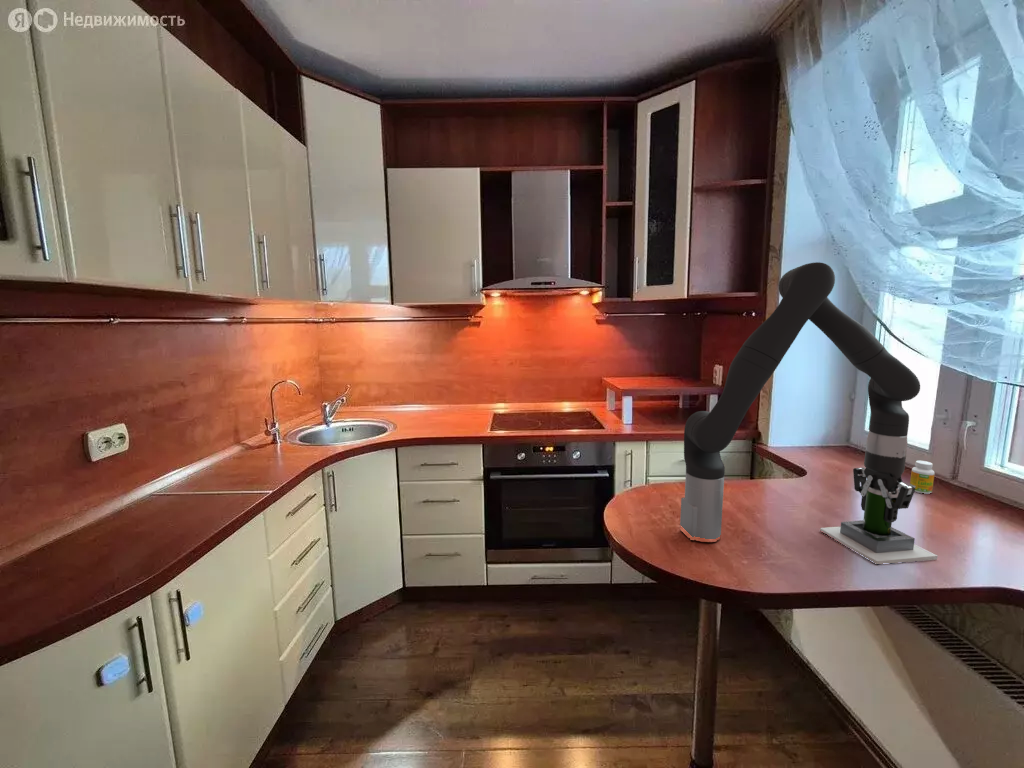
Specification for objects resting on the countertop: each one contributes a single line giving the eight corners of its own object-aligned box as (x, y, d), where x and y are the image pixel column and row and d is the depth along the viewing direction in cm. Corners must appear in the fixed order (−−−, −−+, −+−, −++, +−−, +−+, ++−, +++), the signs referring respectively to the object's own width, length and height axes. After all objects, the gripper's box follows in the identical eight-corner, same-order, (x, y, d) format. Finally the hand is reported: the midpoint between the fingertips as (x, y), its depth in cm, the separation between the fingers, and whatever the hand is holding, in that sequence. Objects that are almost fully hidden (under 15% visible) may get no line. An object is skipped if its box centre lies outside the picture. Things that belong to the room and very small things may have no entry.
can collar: (876, 553, 103) (877, 541, 102) (840, 532, 112) (841, 522, 112) (913, 549, 104) (914, 538, 103) (874, 529, 114) (875, 519, 113)
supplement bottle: (916, 493, 138) (919, 464, 136) (905, 487, 143) (908, 459, 141) (936, 495, 137) (940, 465, 135) (924, 488, 142) (928, 460, 140)
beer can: (864, 535, 107) (869, 489, 105) (860, 526, 111) (865, 482, 110) (892, 540, 104) (898, 493, 102) (886, 530, 109) (892, 485, 107)
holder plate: (876, 565, 100) (876, 561, 99) (819, 531, 115) (820, 528, 115) (937, 559, 101) (937, 555, 101) (873, 527, 117) (873, 523, 117)
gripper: (845, 443, 111) (839, 504, 114) (901, 461, 97) (892, 531, 100) (871, 441, 112) (864, 502, 115) (930, 459, 98) (921, 528, 100)
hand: (877, 515), depth 107 cm, fingers closed on beer can, 5 cm apart
